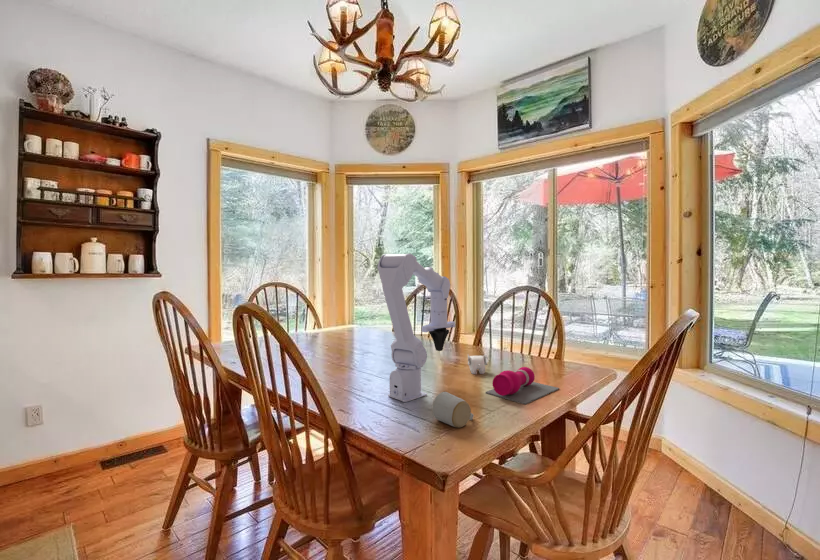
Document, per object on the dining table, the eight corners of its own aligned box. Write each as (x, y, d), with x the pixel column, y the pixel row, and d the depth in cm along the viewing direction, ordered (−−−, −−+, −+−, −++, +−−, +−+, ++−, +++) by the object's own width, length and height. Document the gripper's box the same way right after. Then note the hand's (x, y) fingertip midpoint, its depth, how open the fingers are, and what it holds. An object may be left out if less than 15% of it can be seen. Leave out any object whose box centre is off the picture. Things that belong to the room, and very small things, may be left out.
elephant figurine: (484, 368, 157) (484, 350, 156) (490, 375, 147) (490, 355, 147) (464, 368, 156) (464, 350, 156) (469, 375, 147) (468, 356, 147)
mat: (525, 404, 117) (525, 403, 117) (485, 393, 127) (485, 391, 127) (559, 389, 131) (559, 387, 131) (520, 380, 141) (520, 378, 141)
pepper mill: (512, 399, 119) (541, 386, 134) (512, 374, 119) (540, 364, 134) (490, 395, 124) (520, 383, 139) (490, 371, 124) (520, 362, 139)
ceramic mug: (453, 432, 99) (453, 402, 98) (431, 422, 105) (431, 394, 104) (480, 422, 105) (481, 393, 105) (458, 413, 111) (458, 386, 111)
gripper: (444, 308, 148) (445, 345, 149) (415, 312, 138) (415, 351, 139) (459, 309, 143) (459, 348, 143) (430, 314, 133) (430, 355, 134)
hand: (439, 350), depth 141 cm, fingers closed
